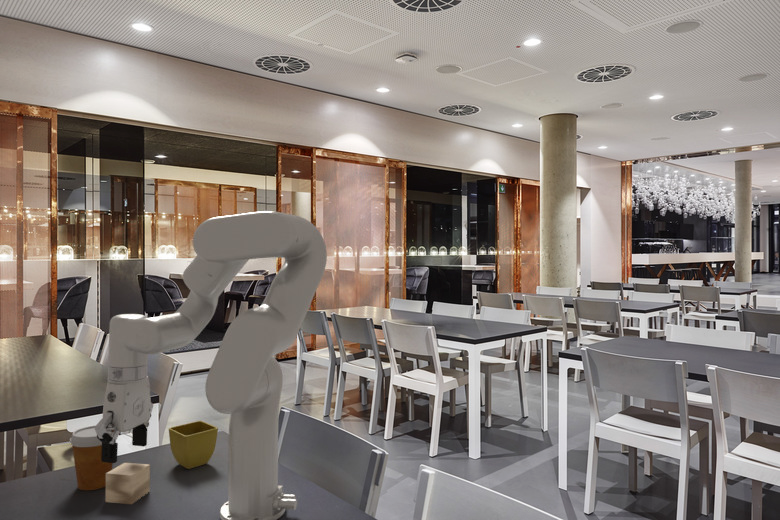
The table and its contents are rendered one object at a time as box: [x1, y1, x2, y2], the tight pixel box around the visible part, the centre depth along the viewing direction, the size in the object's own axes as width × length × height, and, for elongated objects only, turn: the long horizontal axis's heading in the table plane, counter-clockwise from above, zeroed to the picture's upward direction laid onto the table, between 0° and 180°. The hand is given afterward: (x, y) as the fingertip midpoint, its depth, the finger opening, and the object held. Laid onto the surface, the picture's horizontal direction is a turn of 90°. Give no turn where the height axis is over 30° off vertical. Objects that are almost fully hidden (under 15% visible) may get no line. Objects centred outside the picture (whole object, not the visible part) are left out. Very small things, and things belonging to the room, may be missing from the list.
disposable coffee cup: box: [69, 425, 117, 491], centre depth 119 cm, size 10×10×12 cm
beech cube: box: [105, 462, 151, 505], centre depth 113 cm, size 6×6×6 cm
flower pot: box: [168, 420, 219, 470], centre depth 131 cm, size 9×9×9 cm
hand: (124, 453), depth 113 cm, fingers open, 9 cm apart
